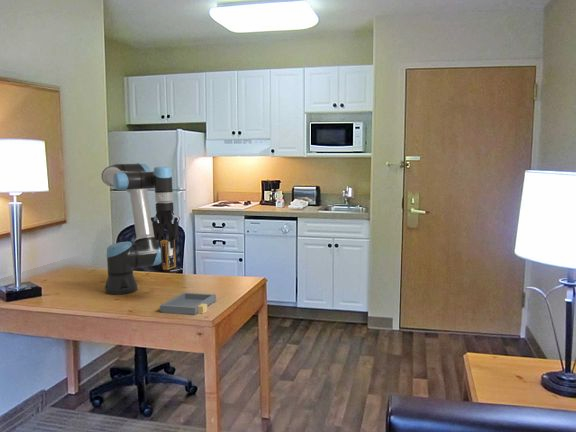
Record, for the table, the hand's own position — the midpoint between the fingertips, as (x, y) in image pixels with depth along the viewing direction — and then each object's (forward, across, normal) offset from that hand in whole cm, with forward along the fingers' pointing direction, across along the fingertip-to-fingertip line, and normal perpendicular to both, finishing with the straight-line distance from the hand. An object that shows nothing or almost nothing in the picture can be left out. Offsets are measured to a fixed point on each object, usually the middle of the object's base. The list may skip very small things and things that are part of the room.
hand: (167, 255), depth 225 cm
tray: (+22, +13, -3) cm, 25 cm away
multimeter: (+6, +4, +1) cm, 7 cm away
